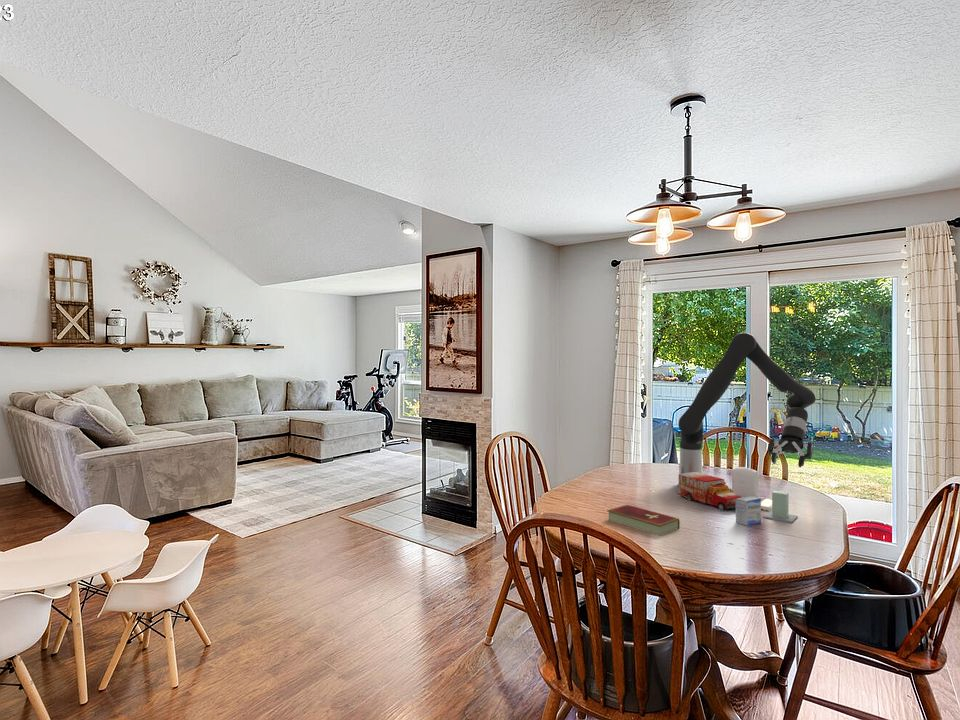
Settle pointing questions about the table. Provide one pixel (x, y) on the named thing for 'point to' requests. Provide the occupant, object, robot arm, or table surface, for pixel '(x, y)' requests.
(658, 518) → the hardcover book
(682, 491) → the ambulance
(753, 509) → the medicine box
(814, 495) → the table surface
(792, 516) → the stub pad
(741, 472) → the photo printer
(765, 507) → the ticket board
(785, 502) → the stub block
